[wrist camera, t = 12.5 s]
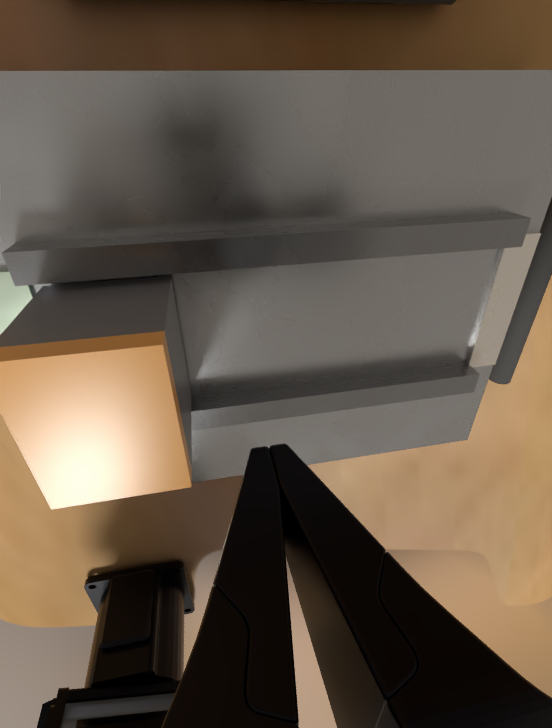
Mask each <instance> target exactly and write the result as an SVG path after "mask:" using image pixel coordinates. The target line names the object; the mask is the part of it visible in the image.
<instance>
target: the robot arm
mask: <svg viewBox="0 0 552 728" xmlns="http://www.w3.org/2000/svg"><path fill="white" fill-rule="evenodd" d="M385 551H386V550H385V548H384V547H383V546H382V545H381V544H380V543H379V542H378V541H377V540H376V539H375V538H374V537H373V536H372V534H371V533H370V532H369V531H368V530H367V529H366V528H365V527H364V526H363V525H362V524H361V523H360V522H359V521H358V520H357V518H356V517H355V516H354V515H353V514H352V513H351V512H350V511H349V510H348V509H347V508H346V507H345V506H344V505H343V503H342V502H341V501H340V500H339V499H338V498H337V497H336V496H335V495H334V494H333V493H332V492H331V491H330V490H329V489H328V487H327V486H326V485H325V484H324V483H323V482H322V481H321V480H320V479H319V478H318V477H317V476H316V475H315V474H314V472H313V471H312V470H311V469H310V468H309V467H308V466H307V465H306V464H305V463H304V462H303V461H302V460H301V459H300V458H299V456H298V455H297V454H296V453H295V452H294V451H293V450H292V449H291V448H290V447H289V446H288V445H287V444H285V443H283V444H276V445H271V446H270V447H269V448H268V447H267V446H263V447H256V448H252V449H251V450H250V453H249V457H248V460H247V464H246V468H245V471H244V475H243V478H242V482H241V486H240V489H239V493H238V496H237V500H236V503H235V507H234V511H233V514H232V518H231V521H230V525H229V529H228V532H227V536H226V539H225V543H224V546H223V550H222V554H221V557H220V561H219V564H218V568H217V571H216V575H215V579H214V583H213V584H214V586H213V587H212V589H211V592H210V596H209V599H208V603H207V606H206V610H205V613H204V616H203V619H202V623H201V626H200V629H199V632H198V635H197V638H196V641H195V644H194V646H193V649H192V652H191V654H190V657H189V660H188V662H187V665H186V668H185V671H184V673H183V666H184V665H183V664H184V659H183V658H184V614H189V613H192V612H193V611H194V600H193V596H192V592H191V589H190V585H189V581H188V577H187V573H186V569H185V566H184V563H183V562H180V561H175V562H170V563H165V564H159V565H154V566H148V567H143V568H138V569H132V570H127V571H121V572H116V573H111V574H105V575H100V576H94V577H90V578H88V579H86V581H85V586H84V588H85V590H86V592H87V594H88V596H89V598H90V599H91V601H92V603H93V605H94V607H95V609H96V610H97V612H98V617H97V622H96V628H95V633H94V639H93V644H92V649H91V655H90V661H89V666H88V671H87V676H86V682H85V687H84V688H82V689H69V688H59V690H58V694H57V698H54V699H53V700H51V701H48V702H46V703H44V704H43V705H42V710H41V713H40V717H39V721H38V725H37V728H299V727H298V709H297V708H298V707H297V695H296V683H295V669H294V658H293V644H292V631H291V620H290V606H289V593H288V580H287V568H286V558H287V561H288V564H289V568H290V572H291V575H292V578H293V582H294V585H295V588H296V592H297V595H298V598H299V601H300V605H301V608H302V611H303V614H304V618H305V622H306V625H307V628H308V632H309V634H310V638H311V642H312V645H313V648H314V651H315V655H316V658H317V661H318V665H319V668H320V671H321V675H322V678H323V681H324V685H325V688H326V691H327V695H328V698H329V701H330V705H331V708H332V711H333V714H334V718H335V721H336V725H337V728H552V698H551V697H550V696H548V695H547V694H545V693H544V692H542V691H541V690H539V689H538V688H537V687H535V686H534V685H533V684H531V683H530V682H529V681H527V680H526V679H525V678H523V677H522V676H521V675H520V674H519V673H518V672H517V671H515V670H514V669H513V668H512V667H511V666H510V665H508V664H507V663H506V662H505V661H504V660H503V659H502V658H500V657H499V656H498V655H497V654H496V653H495V652H494V651H493V650H491V649H490V648H489V647H488V646H487V645H486V644H484V643H483V642H482V641H481V640H480V639H479V638H478V637H477V636H476V635H474V634H473V633H472V632H471V631H470V630H469V629H468V628H466V627H465V626H464V625H463V624H462V623H461V622H459V620H457V619H456V618H455V617H454V616H453V615H452V614H451V613H449V612H448V611H447V610H446V609H445V608H444V607H443V606H442V605H441V604H440V603H438V602H437V601H436V600H435V599H434V598H433V597H432V596H431V595H430V594H429V593H428V592H427V591H425V590H424V589H423V588H422V587H421V586H420V585H419V584H418V583H417V582H416V581H415V580H414V579H413V578H412V577H411V576H410V575H409V574H408V573H407V572H406V571H405V570H404V568H403V567H402V566H400V564H399V563H398V562H397V561H396V560H395V559H394V558H393V557H392V556H391V555H390V554H389V553H388V552H386V553H385Z"/></svg>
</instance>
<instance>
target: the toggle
mask: <svg viewBox="0 0 552 728" xmlns="http://www.w3.org/2000/svg"><path fill="white" fill-rule="evenodd" d="M0 413H1V415H2V417H3V419H4V420H5V422H6V424H7V426H8V428H9V430H10V432H11V434H12V436H13V438H14V439H15V441H16V443H17V445H18V447H19V449H20V451H21V453H22V455H23V457H24V458H25V460H26V462H27V464H28V466H29V468H30V470H31V472H32V474H33V476H34V477H35V479H36V481H37V483H38V485H39V487H40V489H41V491H42V493H43V495H44V496H45V498H46V500H47V502H48V504H49V506H50V508H51V509H57V508H63V507H70V506H76V505H82V504H89V503H95V502H101V501H108V500H114V499H120V498H127V497H133V496H139V495H146V494H152V493H158V492H165V491H171V490H177V489H184V488H190V487H192V434H191V390H190V384H189V378H188V372H187V367H186V361H185V355H184V349H183V343H182V337H181V331H180V326H179V320H178V314H177V308H176V302H175V296H174V290H173V284H172V279H171V276H163V277H150V278H138V279H125V280H112V281H99V282H86V283H74V284H61V285H48V286H42V288H41V289H40V290H39V291H38V292H37V293H36V294H35V296H34V297H33V298H32V299H31V300H30V301H29V303H28V304H27V305H26V306H25V307H24V308H23V309H22V311H21V312H20V313H19V314H18V315H17V316H16V318H15V319H14V320H13V321H12V322H11V323H10V324H9V326H8V327H7V328H6V329H5V330H4V331H3V333H2V334H1V335H0Z"/></svg>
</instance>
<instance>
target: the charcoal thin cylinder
mask: <svg viewBox="0 0 552 728" xmlns="http://www.w3.org/2000/svg"><path fill="white" fill-rule="evenodd" d="M288 1H328V2H367V3H407V4H446V5H451V4H453V3H454V2H455V1H456V0H288Z"/></svg>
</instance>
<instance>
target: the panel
mask: <svg viewBox="0 0 552 728" xmlns="http://www.w3.org/2000/svg"><path fill="white" fill-rule="evenodd" d="M551 197H552V70H221V71H0V334H2V333H3V331H4V330H5V329H6V328H7V327H8V326H9V324H10V323H11V322H12V321H13V320H14V319H15V318H16V316H17V315H18V314H19V313H20V312H21V311H22V309H23V308H24V307H25V306H26V305H27V304H28V303H29V301H30V300H31V299H32V298H33V297H34V296H35V294H36V293H37V292H38V291H39V290H40V289H41V288H42V286H48V285H61V284H74V283H86V282H99V281H112V280H125V279H138V278H150V277H163V276H171V279H172V284H173V290H174V296H175V302H176V308H177V314H178V320H179V326H180V331H181V337H182V343H183V349H184V355H185V361H186V367H187V372H188V378H189V384H190V390H191V434H192V483H194V482H201V481H207V480H213V479H220V478H226V477H233V476H239V475H244V471H245V468H246V464H247V460H248V457H249V453H250V450H251V449H252V448H256V447H263V446H267V447H268V448H269V447H270V446H271V445H276V444H283V443H285V444H287V445H288V446H289V447H290V448H291V449H292V450H293V451H294V452H295V453H296V454H297V455H298V456H299V458H300V459H301V460H302V461H303V462H304V463H305V464H306V465H309V464H316V463H322V462H328V461H335V460H341V459H348V458H354V457H360V456H367V455H373V454H380V453H386V452H392V451H399V450H405V449H411V448H418V447H424V446H431V445H437V444H443V443H450V442H456V441H463V440H467V439H468V436H469V434H470V431H471V428H472V425H473V422H474V419H475V416H476V413H477V411H478V408H479V405H480V402H481V399H482V396H483V393H484V390H485V388H486V385H487V382H488V379H489V376H490V373H491V370H492V367H493V365H495V364H496V361H497V358H498V355H499V352H500V349H501V347H502V344H503V341H504V338H505V335H506V332H507V330H508V327H509V324H510V321H511V318H512V315H513V312H514V310H515V307H516V304H517V301H518V298H519V295H520V292H521V290H522V287H523V284H524V281H525V278H526V275H527V272H528V270H529V267H530V264H531V261H532V258H533V255H534V252H535V250H536V247H537V244H538V241H539V238H540V235H541V233H539V232H540V229H541V226H542V223H543V221H544V218H545V215H546V212H547V209H548V206H549V203H550V200H551Z"/></svg>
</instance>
